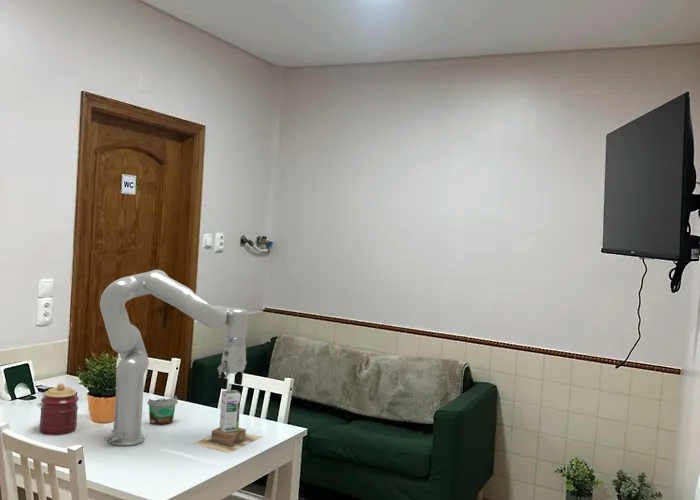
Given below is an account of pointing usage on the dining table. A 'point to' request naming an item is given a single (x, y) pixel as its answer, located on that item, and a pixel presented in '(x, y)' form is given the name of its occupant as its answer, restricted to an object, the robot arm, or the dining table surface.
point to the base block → (228, 436)
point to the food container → (162, 411)
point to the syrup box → (230, 411)
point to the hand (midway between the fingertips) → (230, 386)
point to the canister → (59, 411)
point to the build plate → (224, 447)
